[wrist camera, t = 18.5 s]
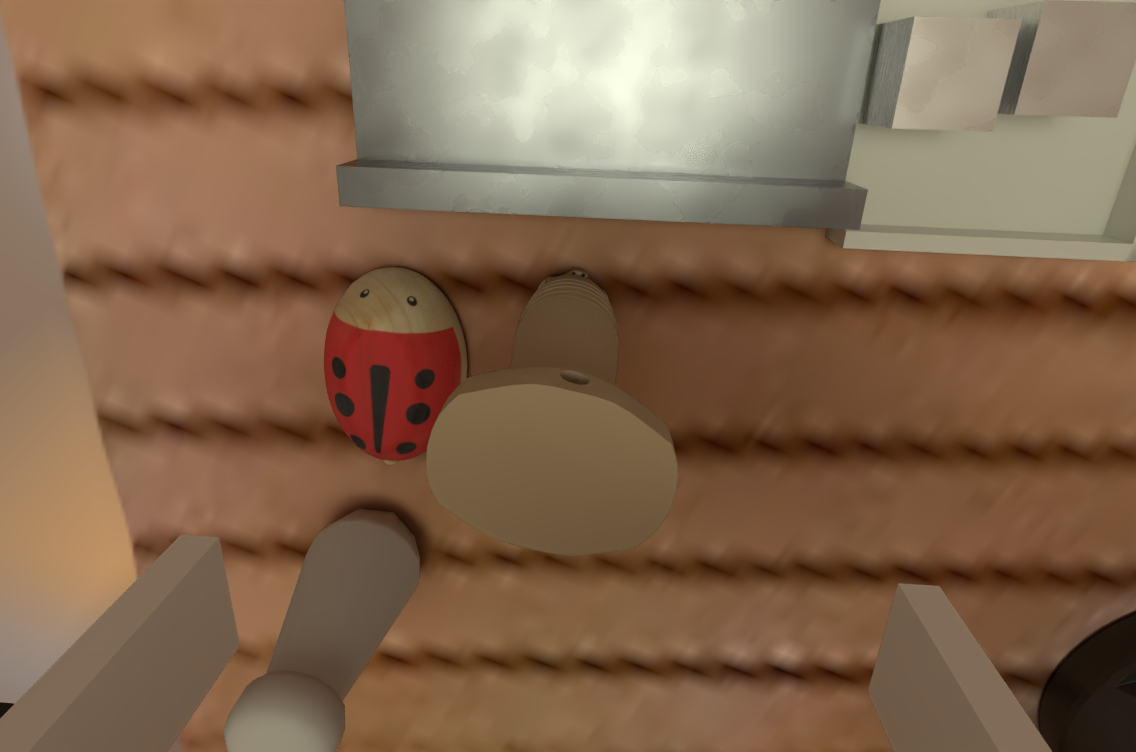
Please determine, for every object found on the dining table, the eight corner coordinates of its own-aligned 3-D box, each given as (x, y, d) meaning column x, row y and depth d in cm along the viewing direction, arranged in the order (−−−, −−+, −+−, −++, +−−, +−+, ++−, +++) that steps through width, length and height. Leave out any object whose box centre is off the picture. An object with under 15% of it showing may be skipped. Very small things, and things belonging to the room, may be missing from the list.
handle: (514, 231, 30) (442, 360, 16) (654, 266, 30) (702, 422, 16) (493, 331, 32) (413, 523, 18) (625, 363, 32) (646, 574, 18)
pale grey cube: (1083, 13, 25) (1154, 2, 22) (1053, 113, 26) (1116, 117, 23) (988, 10, 25) (1045, 0, 22) (963, 111, 27) (1014, 114, 23)
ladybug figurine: (471, 268, 31) (456, 290, 27) (469, 455, 35) (456, 493, 31) (325, 257, 31) (293, 277, 27) (340, 445, 35) (313, 482, 31)
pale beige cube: (968, 27, 25) (1022, 19, 22) (945, 125, 27) (992, 131, 24) (874, 24, 25) (914, 16, 22) (856, 123, 27) (891, 128, 24)
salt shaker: (386, 476, 35) (277, 678, 23) (451, 552, 37) (382, 776, 25) (302, 524, 36) (160, 738, 25) (369, 595, 38) (267, 827, 26)
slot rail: (889, -93, 24) (933, -120, 21) (830, 213, 29) (859, 230, 26) (343, -113, 25) (306, -142, 22) (368, 192, 29) (339, 206, 26)
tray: (1237, -115, 24) (1297, -133, 22) (1105, 249, 29) (1143, 262, 27) (895, -126, 24) (923, -146, 22) (825, 237, 29) (842, 248, 27)
